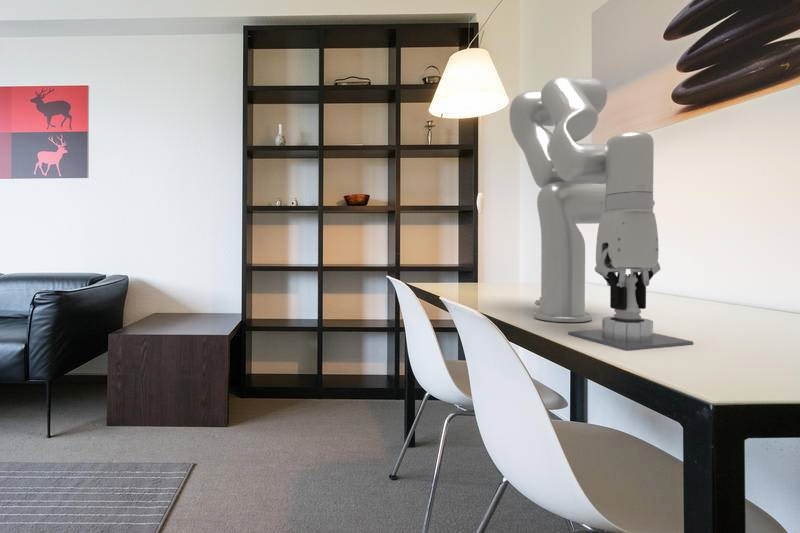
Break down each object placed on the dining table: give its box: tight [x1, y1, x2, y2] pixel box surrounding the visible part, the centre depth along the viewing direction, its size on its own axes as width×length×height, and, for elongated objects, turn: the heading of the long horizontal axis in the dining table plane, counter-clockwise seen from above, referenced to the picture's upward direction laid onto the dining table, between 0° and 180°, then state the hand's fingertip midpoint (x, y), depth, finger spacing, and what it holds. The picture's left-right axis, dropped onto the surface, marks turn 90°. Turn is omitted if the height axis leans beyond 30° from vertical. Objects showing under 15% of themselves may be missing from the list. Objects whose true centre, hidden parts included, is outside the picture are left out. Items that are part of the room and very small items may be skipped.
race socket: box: [567, 315, 694, 351], centre depth 77 cm, size 14×14×4 cm
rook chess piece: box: [613, 273, 642, 320], centre depth 77 cm, size 4×4×8 cm
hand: (627, 307), depth 77 cm, fingers closed on rook chess piece, 3 cm apart
